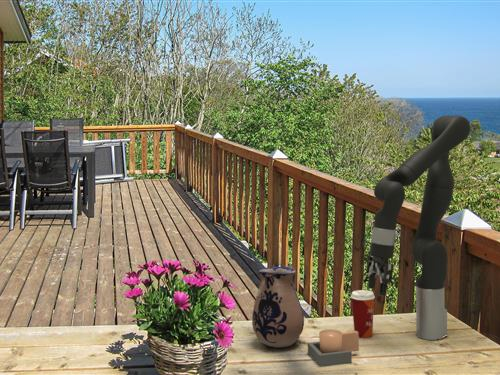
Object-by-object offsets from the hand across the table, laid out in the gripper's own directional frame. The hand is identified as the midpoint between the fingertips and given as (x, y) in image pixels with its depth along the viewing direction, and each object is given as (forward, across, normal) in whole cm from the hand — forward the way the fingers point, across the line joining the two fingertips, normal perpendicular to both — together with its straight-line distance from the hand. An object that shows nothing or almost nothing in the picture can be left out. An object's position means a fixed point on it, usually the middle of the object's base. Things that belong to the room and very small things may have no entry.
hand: (376, 291), depth 192 cm
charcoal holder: (+21, -5, +15) cm, 26 cm away
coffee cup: (+18, +11, -3) cm, 22 cm away
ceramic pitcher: (+23, +14, +26) cm, 37 cm away
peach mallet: (+20, -5, +12) cm, 24 cm away
